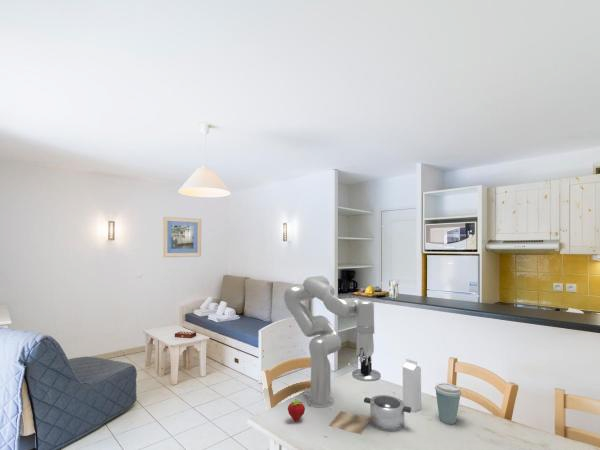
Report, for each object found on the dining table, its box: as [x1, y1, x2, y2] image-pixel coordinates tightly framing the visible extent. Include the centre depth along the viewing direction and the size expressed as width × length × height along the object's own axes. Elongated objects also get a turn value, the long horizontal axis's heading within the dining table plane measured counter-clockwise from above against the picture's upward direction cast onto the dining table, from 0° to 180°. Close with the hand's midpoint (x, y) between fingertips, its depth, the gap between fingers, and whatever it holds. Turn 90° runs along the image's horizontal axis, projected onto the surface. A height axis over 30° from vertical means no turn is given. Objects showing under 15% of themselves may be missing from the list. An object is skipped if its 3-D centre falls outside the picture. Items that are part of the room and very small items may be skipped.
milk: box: [402, 358, 422, 413], centre depth 159 cm, size 6×6×22 cm
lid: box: [351, 359, 382, 382], centre depth 145 cm, size 12×12×6 cm
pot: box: [363, 394, 412, 433], centre depth 144 cm, size 20×14×9 cm
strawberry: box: [287, 398, 306, 422], centre depth 146 cm, size 6×8×10 cm
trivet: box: [328, 410, 370, 435], centre depth 145 cm, size 14×14×1 cm
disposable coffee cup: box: [434, 382, 462, 425], centre depth 148 cm, size 11×11×15 cm
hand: (366, 372), depth 145 cm, fingers closed on lid, 3 cm apart
